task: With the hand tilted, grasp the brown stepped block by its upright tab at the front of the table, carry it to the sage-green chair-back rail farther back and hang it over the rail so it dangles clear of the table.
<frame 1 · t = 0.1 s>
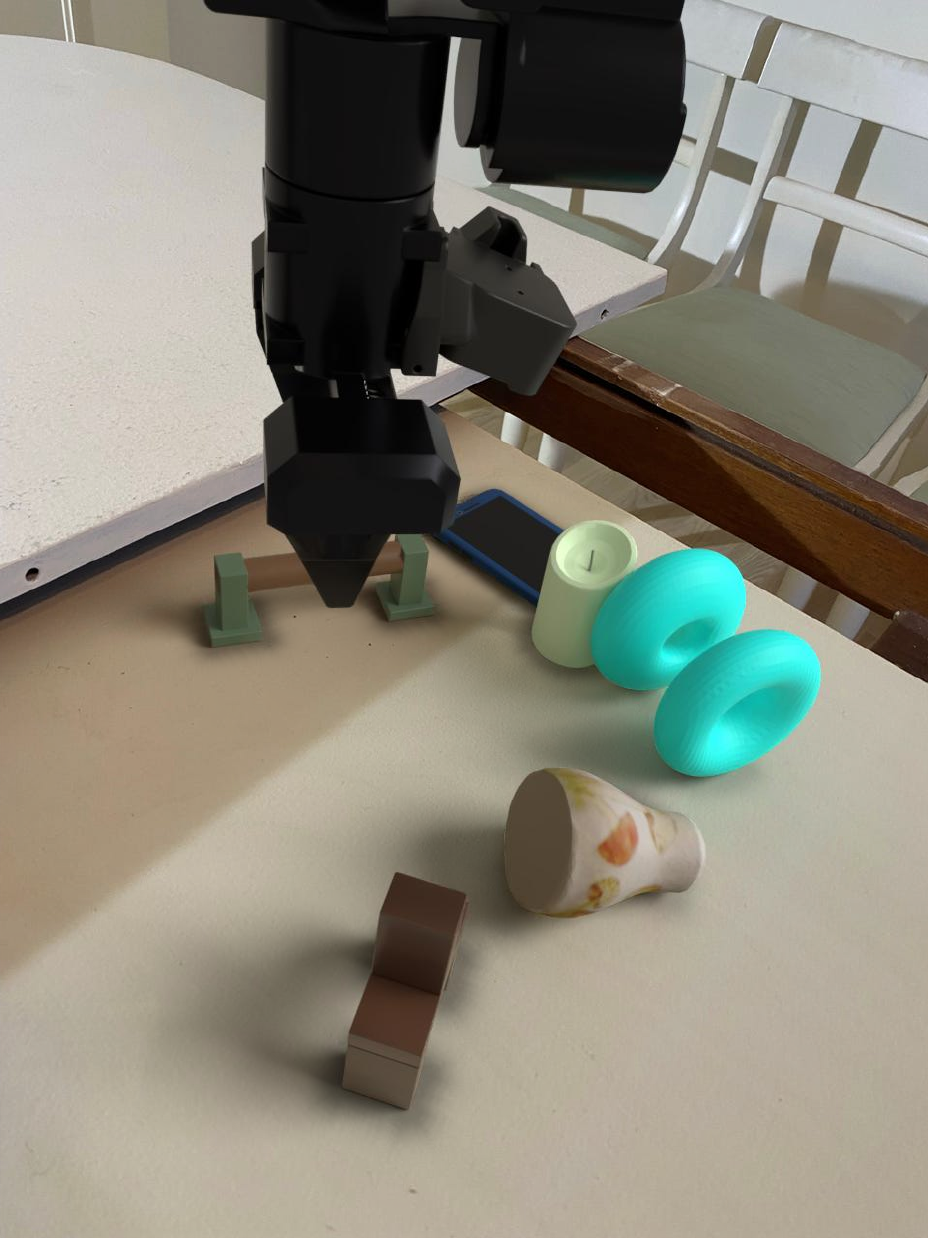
hand: (330, 535, 45), 16 cm above the table, tool pointing down, fingers open, 9 cm apart
cell phone: (530, 561, 71), on the table, touching candle
flowered bud vase: (595, 875, 53), on the table
brown stepped block: (401, 1021, 46), on the table
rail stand: (320, 615, 64), on the table
candle: (569, 641, 66), on the table, touching cell phone
donuts: (676, 722, 62), on the table
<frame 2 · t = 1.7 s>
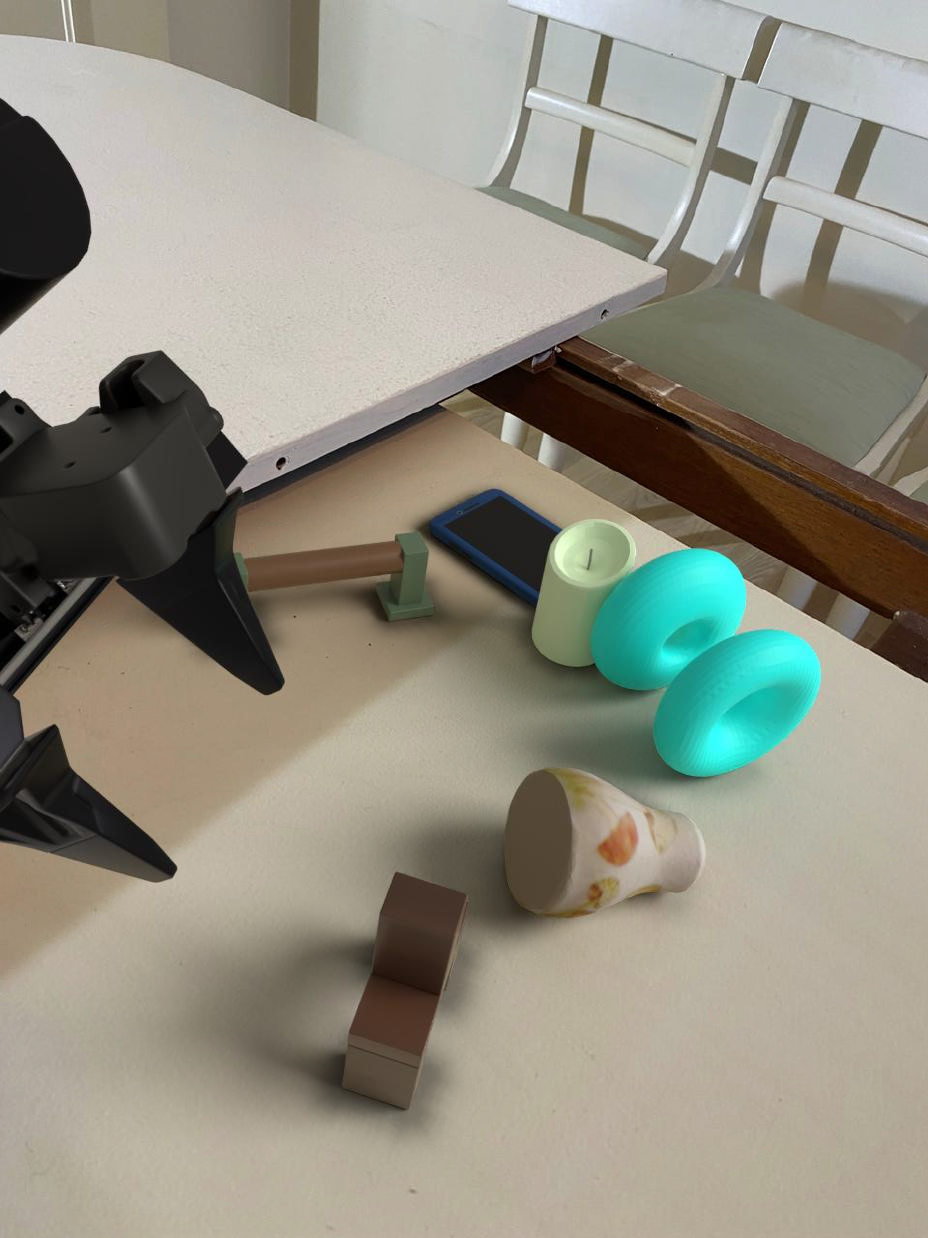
hand: (227, 775, 38), 13 cm above the table, tool tilted 45°, fingers open, 9 cm apart
nothing on the table moved.
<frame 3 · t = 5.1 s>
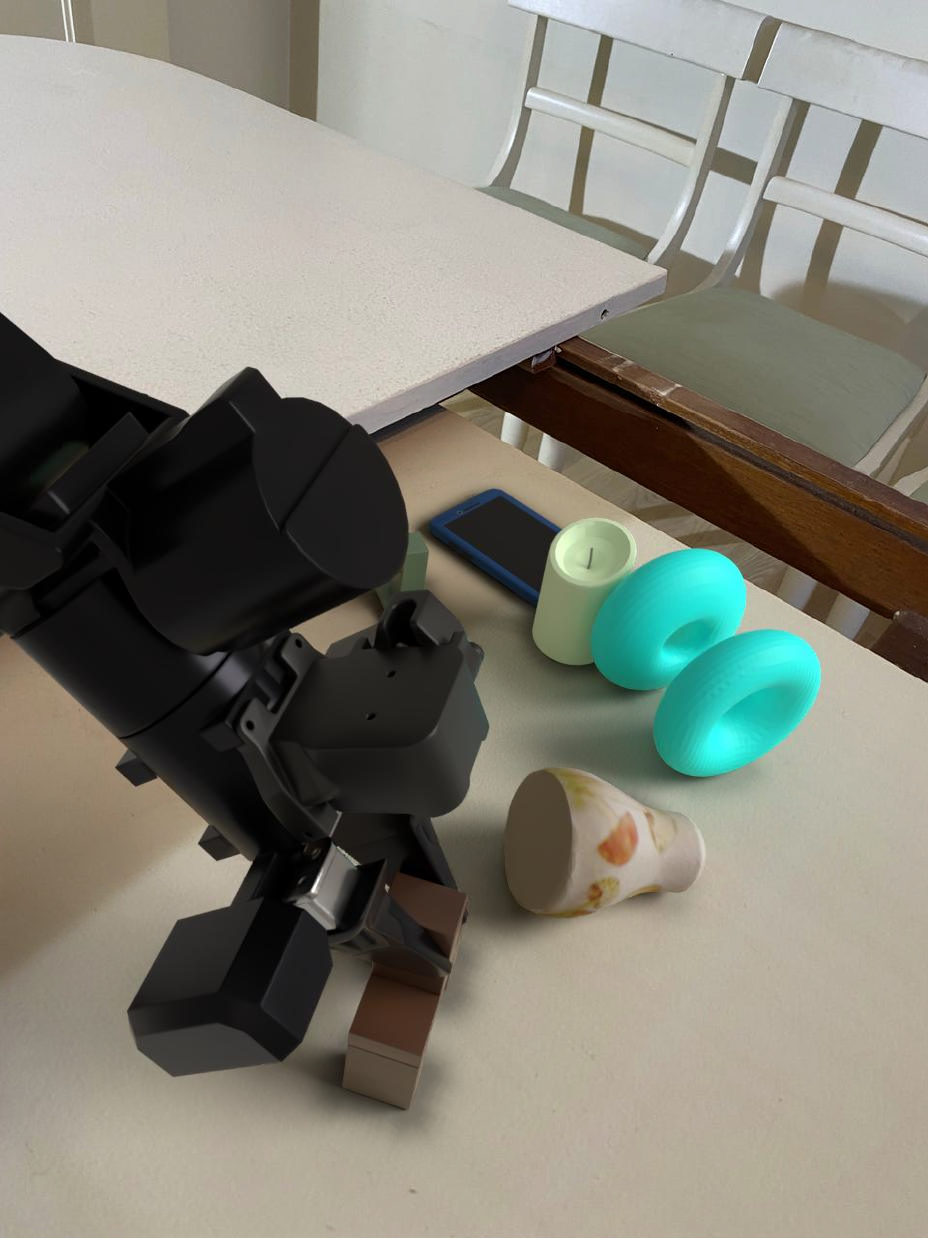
hand: (451, 947, 41), 7 cm above the table, tool tilted 45°, fingers closed on brown stepped block, 2 cm apart
brown stepped block: (401, 1021, 46), on the table, touching gripper
everything else where it was.
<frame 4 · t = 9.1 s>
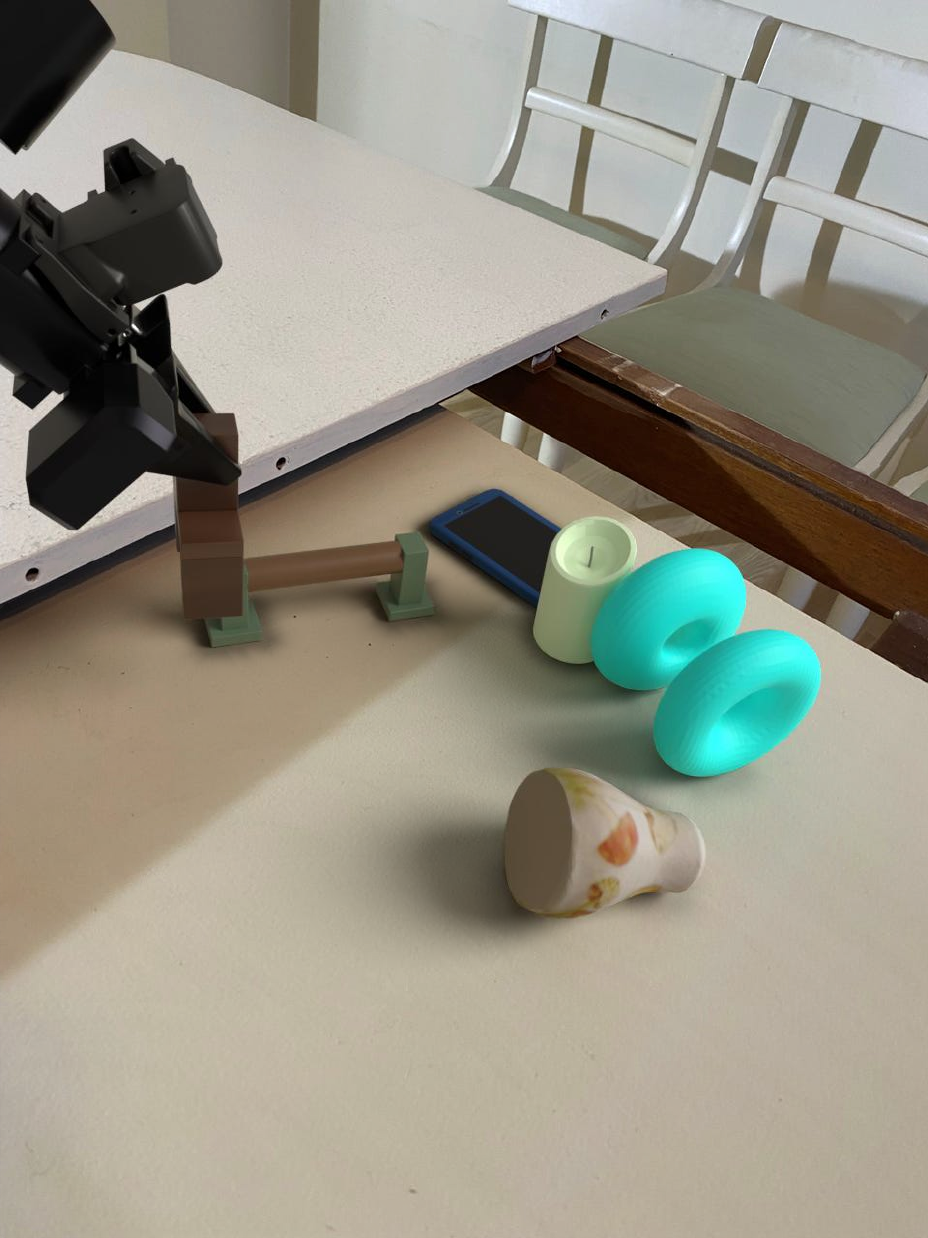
hand: (233, 464, 52), 14 cm above the table, tool tilted 45°, fingers closed on brown stepped block
brown stepped block: (207, 574, 56), point 7 cm above the table, touching gripper
everything else where it was.
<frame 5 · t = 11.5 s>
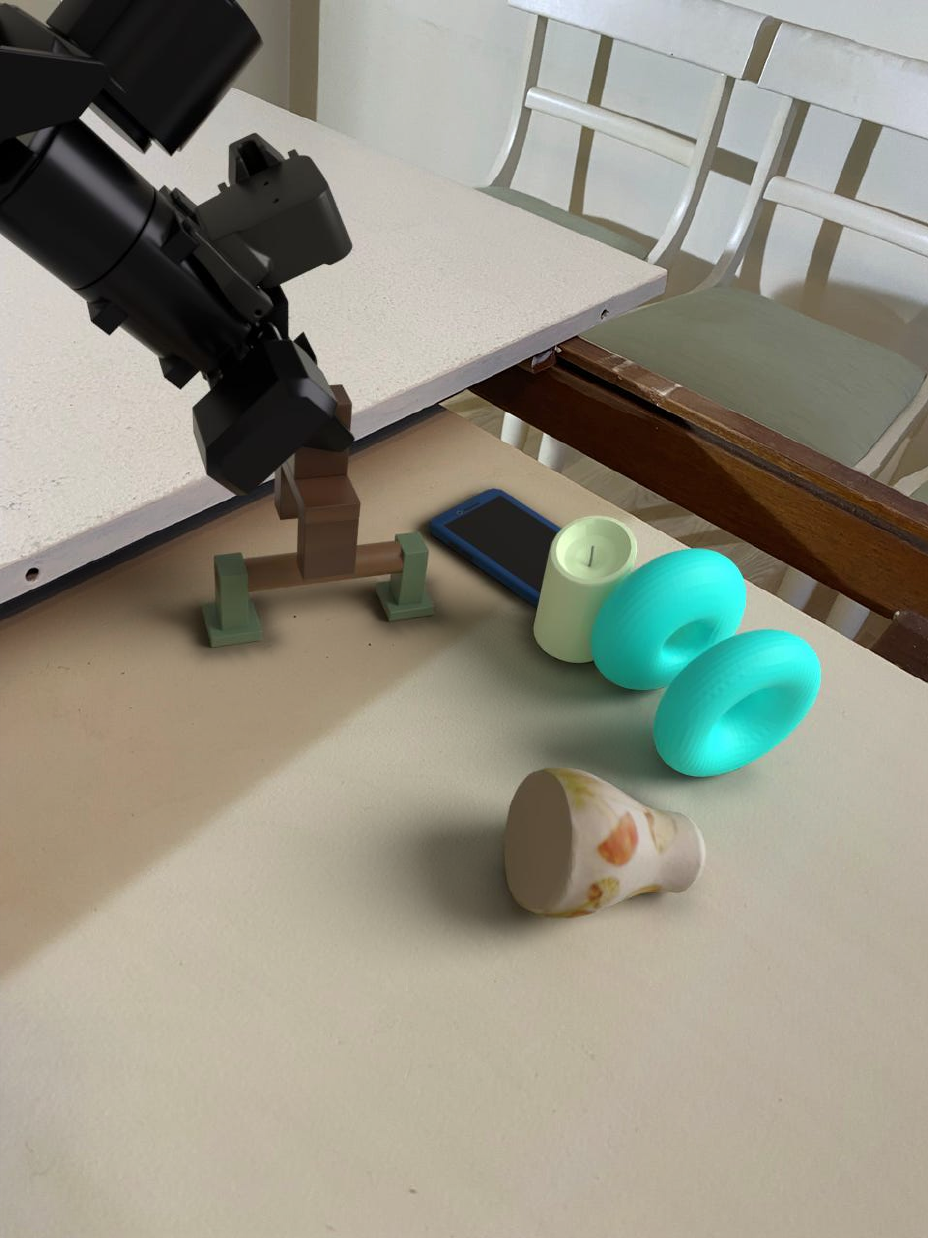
hand: (342, 433, 56), 13 cm above the table, tool tilted 45°, fingers closed on brown stepped block
brown stepped block: (313, 538, 60), point 6 cm above the table, touching gripper
everything else where it was.
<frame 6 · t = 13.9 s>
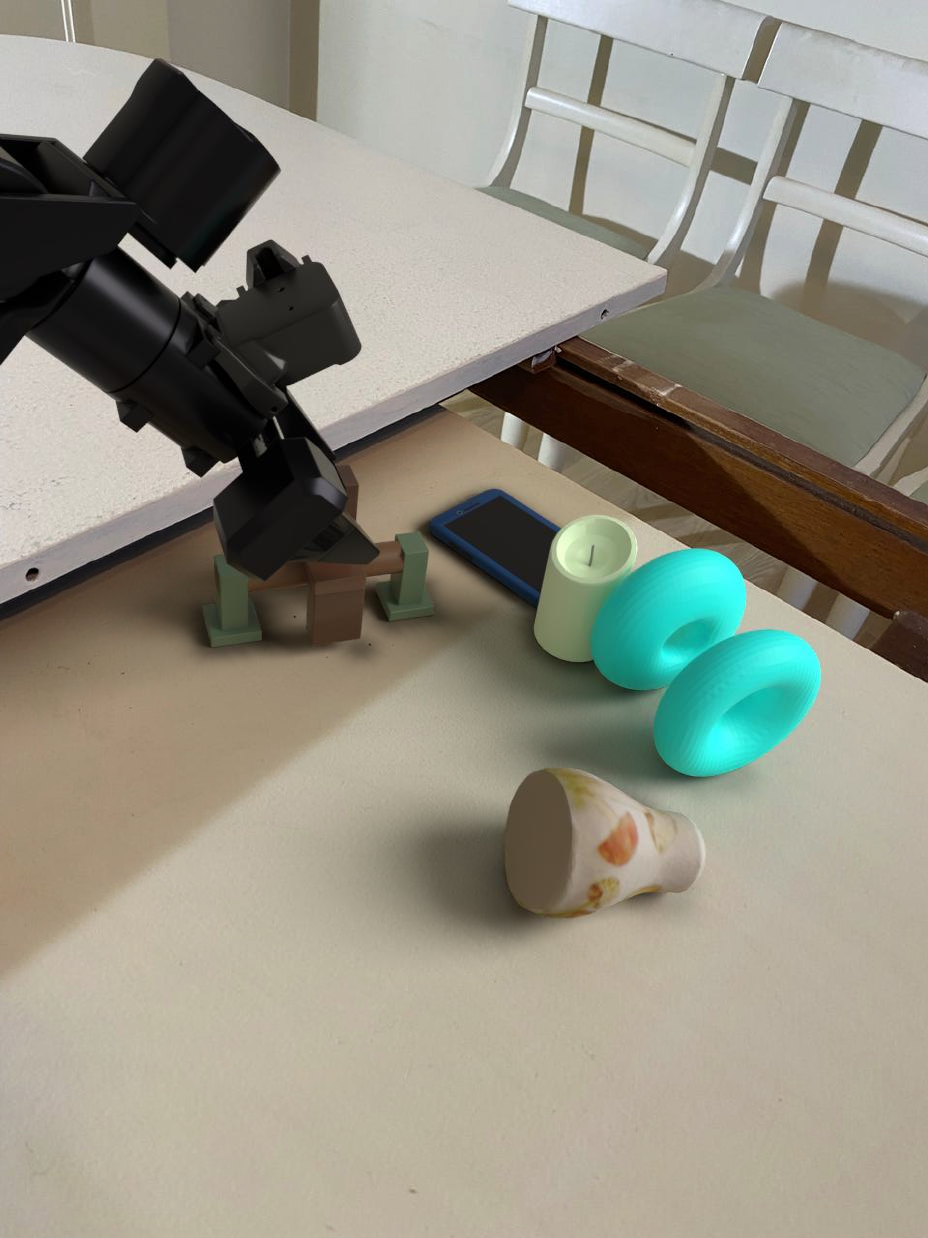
hand: (350, 507, 59), 8 cm above the table, tool tilted 45°, fingers open, 9 cm apart
brown stepped block: (321, 603, 64), point 1 cm above the table, touching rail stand
candle: (571, 636, 66), on the table, touching cell phone
everything else where it was.
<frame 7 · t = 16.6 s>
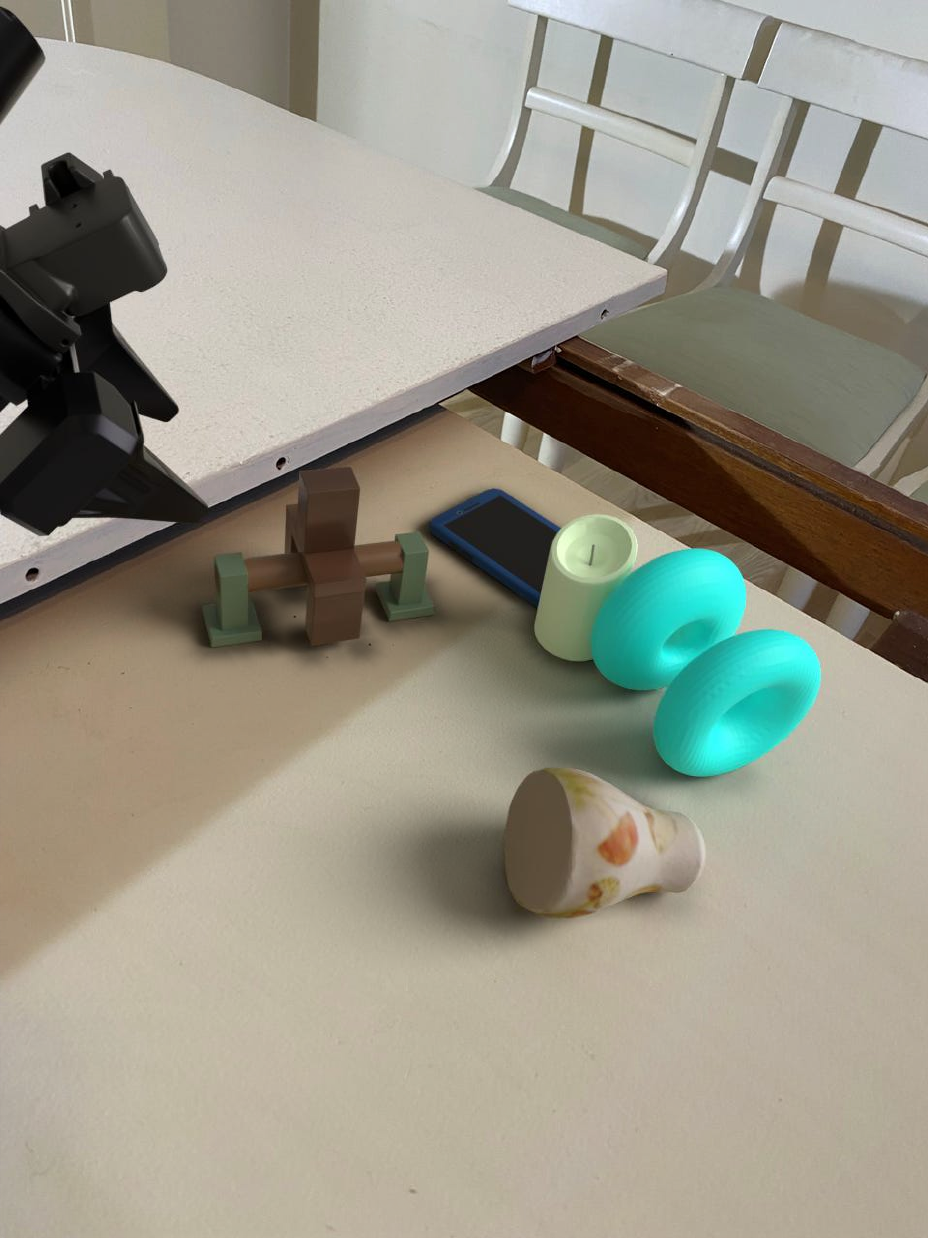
hand: (187, 462, 54), 12 cm above the table, tool tilted 45°, fingers open, 9 cm apart
candle: (571, 635, 66), on the table, touching cell phone
everything else where it was.
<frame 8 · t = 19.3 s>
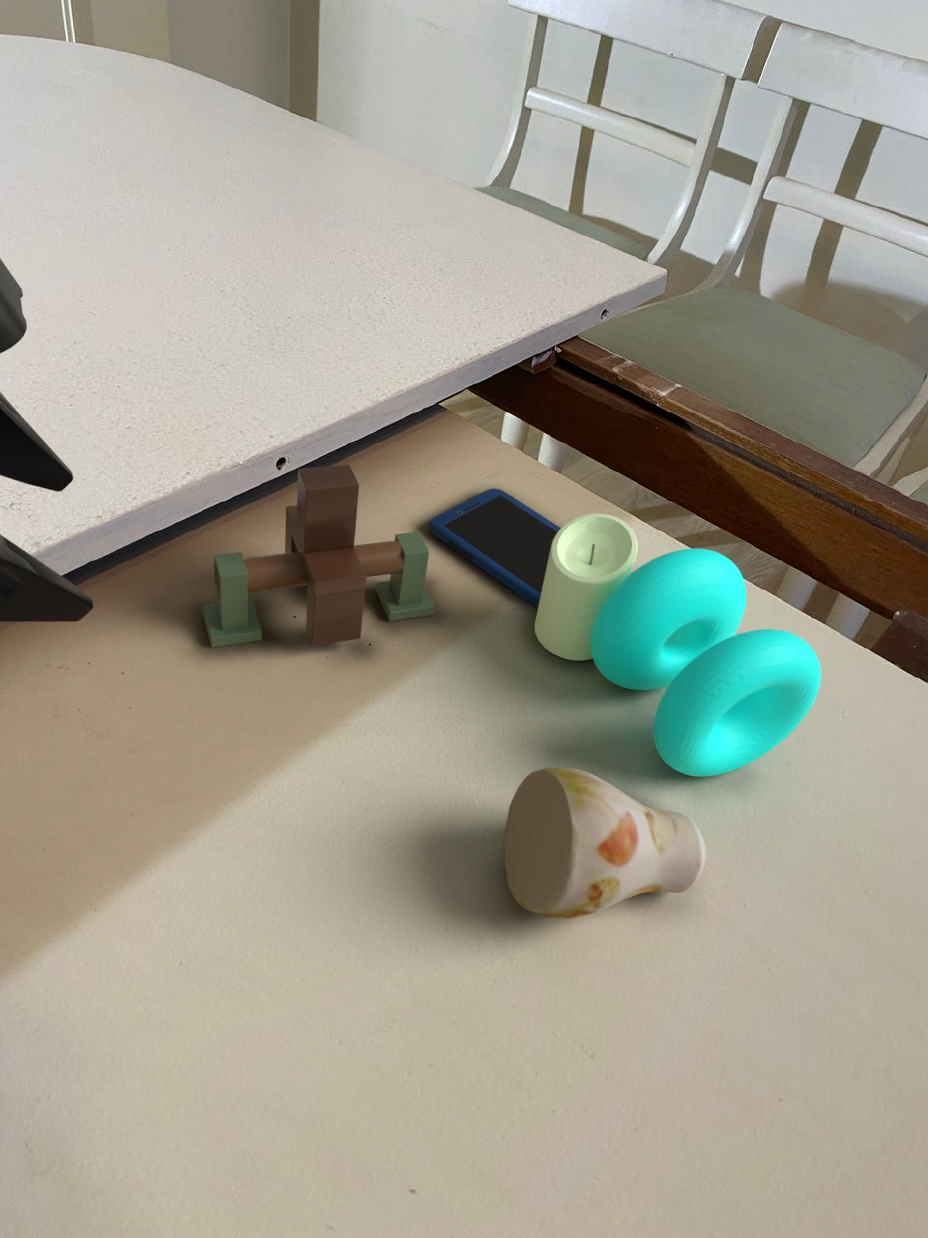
hand: (76, 543, 46), 14 cm above the table, tool tilted 45°, fingers open, 9 cm apart
nothing on the table moved.
at the end: brown stepped block 0.0 cm off-centre on the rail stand, point 1.0 cm above the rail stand's base; brown stepped block touching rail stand; the gripper is holding nothing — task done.
